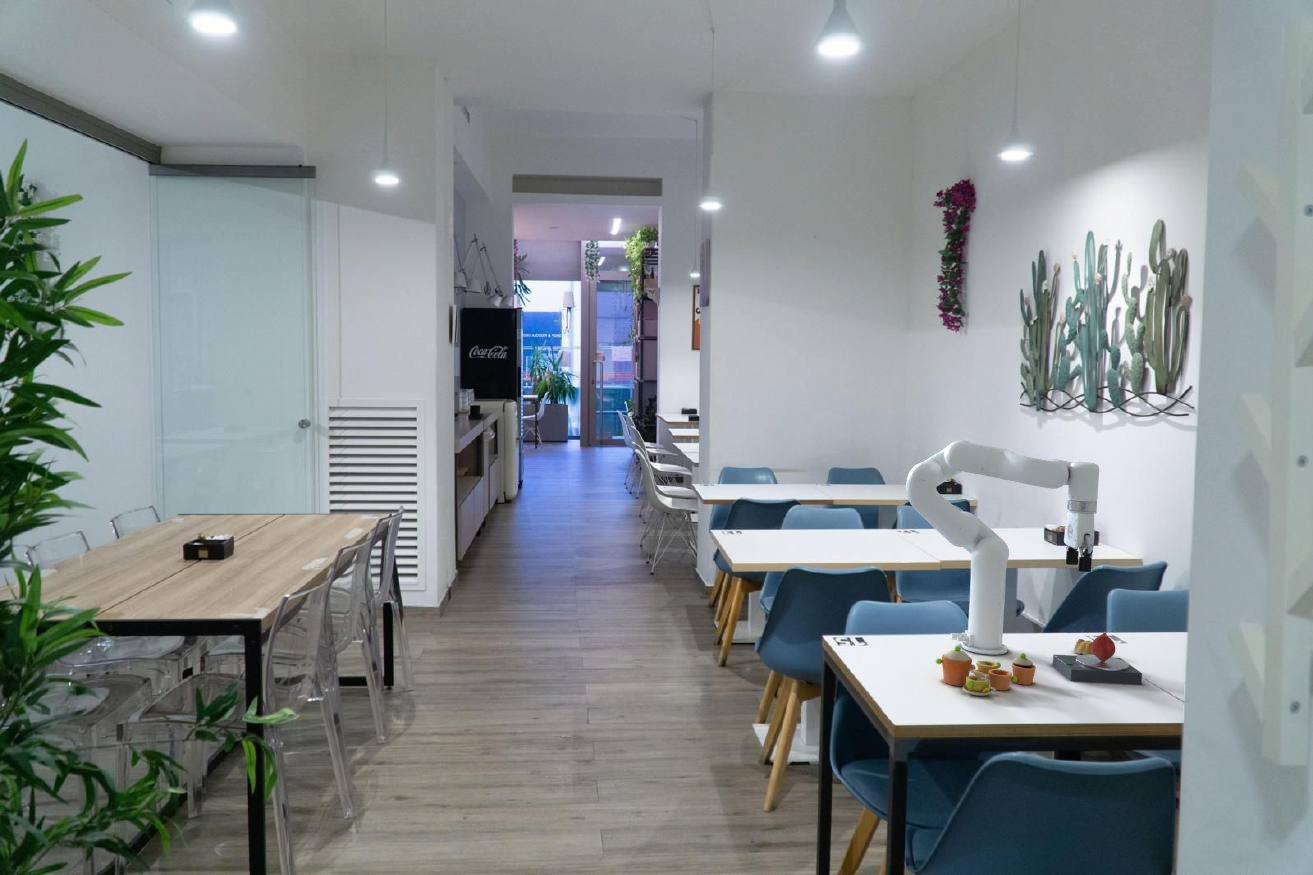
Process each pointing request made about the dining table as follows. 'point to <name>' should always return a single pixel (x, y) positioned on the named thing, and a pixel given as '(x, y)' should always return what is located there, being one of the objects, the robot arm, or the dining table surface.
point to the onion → (1103, 647)
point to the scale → (1094, 672)
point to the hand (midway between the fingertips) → (1078, 568)
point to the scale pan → (1102, 663)
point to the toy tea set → (983, 673)
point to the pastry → (1083, 647)
